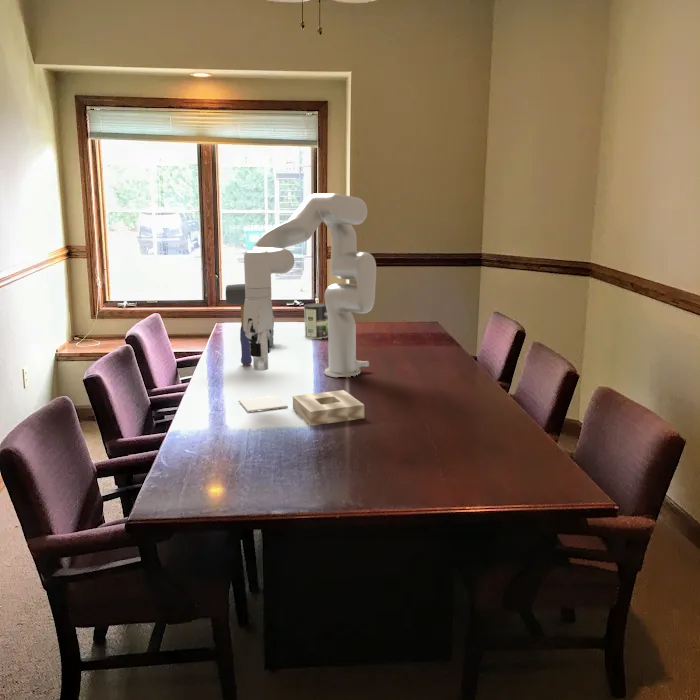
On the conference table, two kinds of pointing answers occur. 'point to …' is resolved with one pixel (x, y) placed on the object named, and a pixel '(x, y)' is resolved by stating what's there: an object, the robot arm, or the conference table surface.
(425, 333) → the conference table surface
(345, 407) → the socket block
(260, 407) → the mat
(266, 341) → the steel cylinder
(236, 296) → the rubber mallet
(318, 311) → the coffee can
